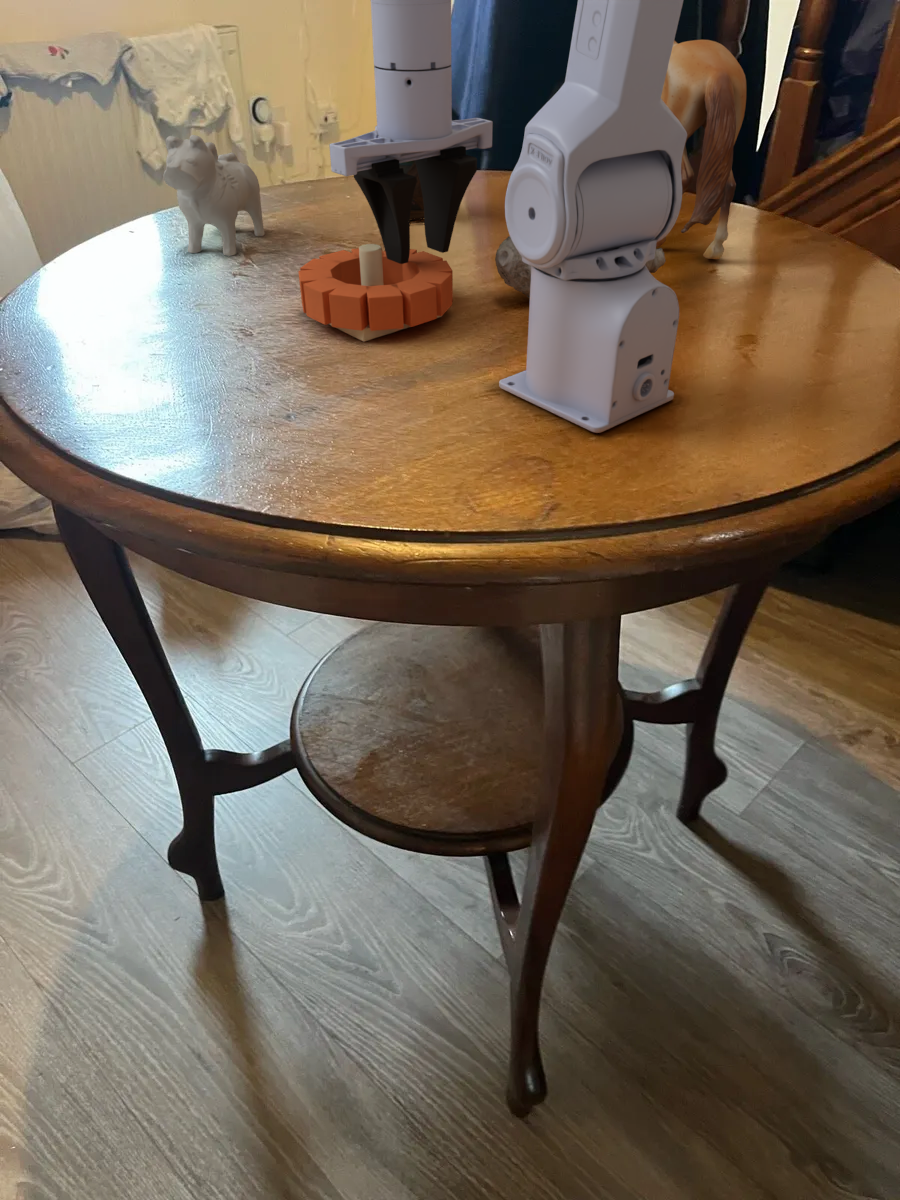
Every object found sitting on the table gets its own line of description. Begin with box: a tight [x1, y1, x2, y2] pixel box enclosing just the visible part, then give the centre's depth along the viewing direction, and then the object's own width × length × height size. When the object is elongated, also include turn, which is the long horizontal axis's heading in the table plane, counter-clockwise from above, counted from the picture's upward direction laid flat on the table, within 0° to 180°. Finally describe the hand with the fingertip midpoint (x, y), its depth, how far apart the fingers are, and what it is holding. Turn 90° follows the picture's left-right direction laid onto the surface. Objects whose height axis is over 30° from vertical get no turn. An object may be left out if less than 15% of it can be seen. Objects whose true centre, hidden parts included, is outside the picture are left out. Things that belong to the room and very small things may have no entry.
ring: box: [297, 247, 454, 331], centre depth 73 cm, size 12×12×3 cm
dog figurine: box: [162, 134, 266, 257], centre depth 86 cm, size 5×13×11 cm, turn 165°
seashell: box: [494, 235, 667, 299], centre depth 76 cm, size 6×14×8 cm, turn 95°
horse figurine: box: [656, 39, 747, 260], centre depth 85 cm, size 31×8×21 cm, turn 13°
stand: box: [328, 243, 443, 343], centre depth 73 cm, size 8×8×6 cm
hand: (418, 254), depth 74 cm, fingers open, 4 cm apart
